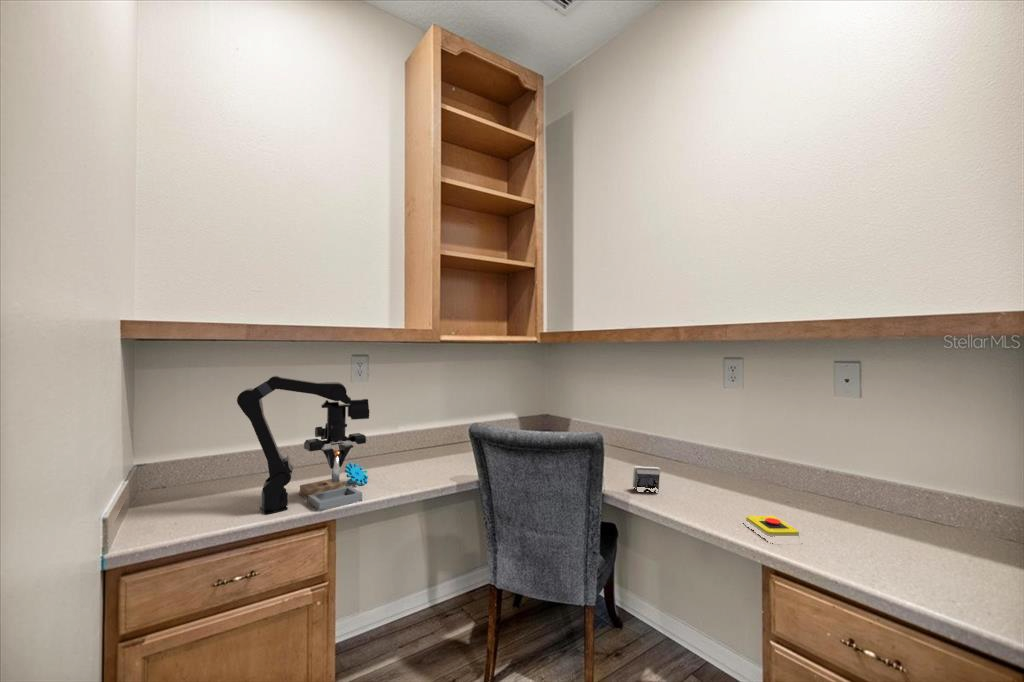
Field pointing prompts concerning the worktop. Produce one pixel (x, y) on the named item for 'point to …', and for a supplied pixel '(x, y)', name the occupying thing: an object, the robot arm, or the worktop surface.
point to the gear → (356, 474)
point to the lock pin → (336, 465)
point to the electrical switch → (646, 477)
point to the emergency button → (772, 526)
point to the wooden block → (319, 487)
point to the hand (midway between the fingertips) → (335, 467)
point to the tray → (334, 498)
